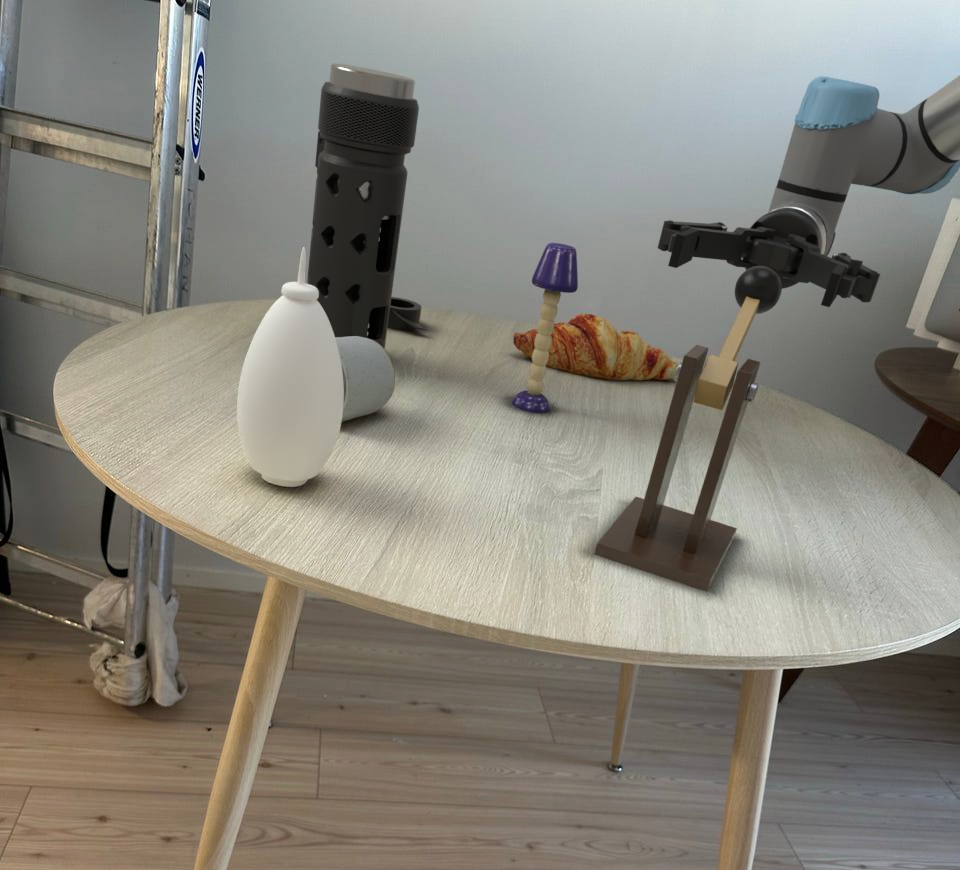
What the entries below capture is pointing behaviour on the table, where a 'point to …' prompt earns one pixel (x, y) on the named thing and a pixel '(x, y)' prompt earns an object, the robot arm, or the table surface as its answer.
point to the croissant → (600, 351)
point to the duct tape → (404, 315)
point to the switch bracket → (647, 522)
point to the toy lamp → (547, 318)
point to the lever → (737, 334)
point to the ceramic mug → (364, 376)
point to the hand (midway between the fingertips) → (751, 270)
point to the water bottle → (360, 196)
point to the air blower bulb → (291, 388)
